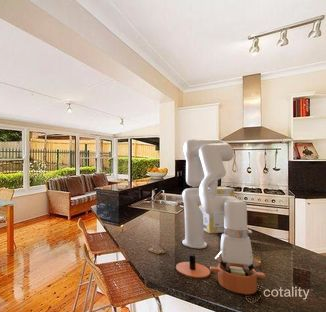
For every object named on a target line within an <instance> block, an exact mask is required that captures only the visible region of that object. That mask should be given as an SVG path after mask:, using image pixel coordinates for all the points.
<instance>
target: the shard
mask: <svg viewBox="0 0 326 312" xmlns="http://www.w3.org/2000/svg"><path fill="white" fill-rule="evenodd" d="M148 252H150V253H154V254H157V255H159V254H163V253H164V254H165V253H166V250H165V249H164V247H163V246H162V245H161V244H160V243H157V244H155V245H153V246H151V247H149V248H148Z"/></svg>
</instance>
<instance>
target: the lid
mask: <svg viewBox="0 0 326 312" xmlns="http://www.w3.org/2000/svg"><path fill="white" fill-rule="evenodd" d="M188 255H189V256H188V258H189V260H188V261H181V262H178V263H177V264H176V266H175V269H176V271H177V272H178V273H179V274H181V275H183V276H186V277H189V278H195V279H204V278H207V277H209V276H210V275H211V270H210V268H209V267H206V266H205V265H204V264H201V263H198V262H196V254H195V253H188Z"/></svg>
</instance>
